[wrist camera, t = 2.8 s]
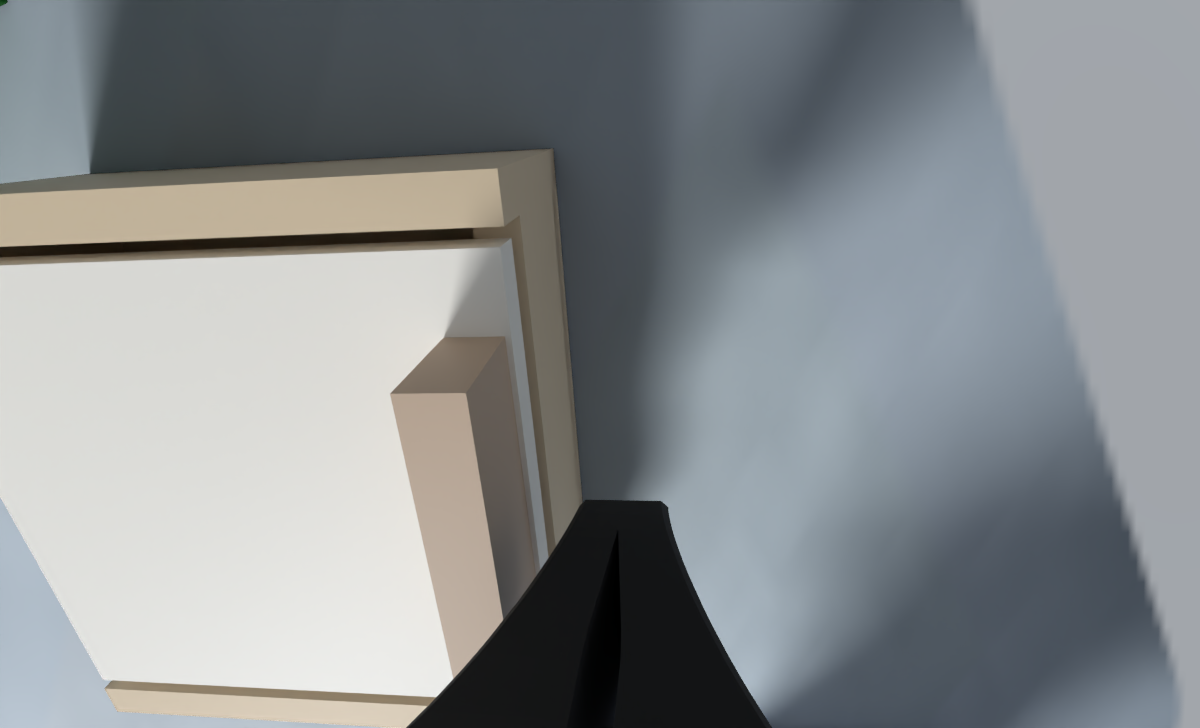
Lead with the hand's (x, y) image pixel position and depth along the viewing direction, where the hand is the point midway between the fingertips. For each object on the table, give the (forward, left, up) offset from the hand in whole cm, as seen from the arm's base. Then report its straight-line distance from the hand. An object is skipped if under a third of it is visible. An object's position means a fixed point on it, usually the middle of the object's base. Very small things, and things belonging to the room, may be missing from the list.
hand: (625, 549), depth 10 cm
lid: (0, +7, -2) cm, 7 cm away
